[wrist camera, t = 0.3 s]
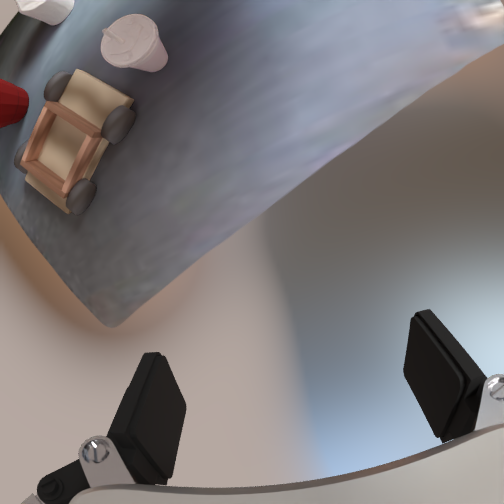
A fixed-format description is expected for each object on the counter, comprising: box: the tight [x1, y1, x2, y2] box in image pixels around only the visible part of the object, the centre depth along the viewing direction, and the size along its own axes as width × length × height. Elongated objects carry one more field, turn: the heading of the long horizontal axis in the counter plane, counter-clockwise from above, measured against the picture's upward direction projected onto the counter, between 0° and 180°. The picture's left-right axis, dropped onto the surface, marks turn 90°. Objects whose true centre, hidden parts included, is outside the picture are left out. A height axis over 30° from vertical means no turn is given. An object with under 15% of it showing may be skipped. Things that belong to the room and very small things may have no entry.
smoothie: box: [101, 14, 168, 72], centre depth 26 cm, size 6×6×14 cm
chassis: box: [14, 69, 136, 215], centre depth 33 cm, size 18×14×5 cm
